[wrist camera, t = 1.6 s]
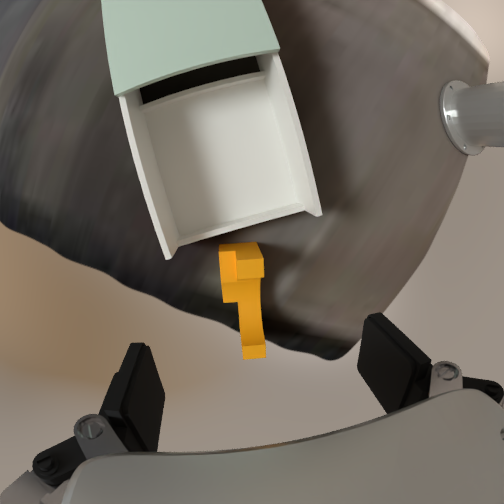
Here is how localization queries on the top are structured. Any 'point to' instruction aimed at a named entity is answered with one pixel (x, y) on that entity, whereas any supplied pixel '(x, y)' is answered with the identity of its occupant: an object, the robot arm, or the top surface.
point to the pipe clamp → (244, 292)
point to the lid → (180, 37)
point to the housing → (221, 155)
